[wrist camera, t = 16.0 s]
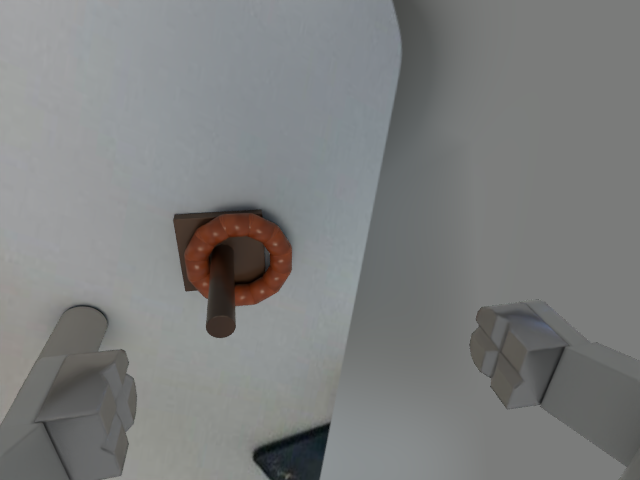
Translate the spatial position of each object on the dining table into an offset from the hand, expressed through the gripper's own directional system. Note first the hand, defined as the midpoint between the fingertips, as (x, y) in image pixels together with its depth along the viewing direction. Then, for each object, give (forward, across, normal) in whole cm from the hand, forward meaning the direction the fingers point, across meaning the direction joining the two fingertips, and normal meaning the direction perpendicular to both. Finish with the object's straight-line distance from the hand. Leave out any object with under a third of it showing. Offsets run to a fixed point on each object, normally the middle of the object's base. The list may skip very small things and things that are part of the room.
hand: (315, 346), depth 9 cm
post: (+33, +4, +16) cm, 37 cm away
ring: (+31, +2, +16) cm, 35 cm away
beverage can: (+33, +20, +24) cm, 46 cm away
